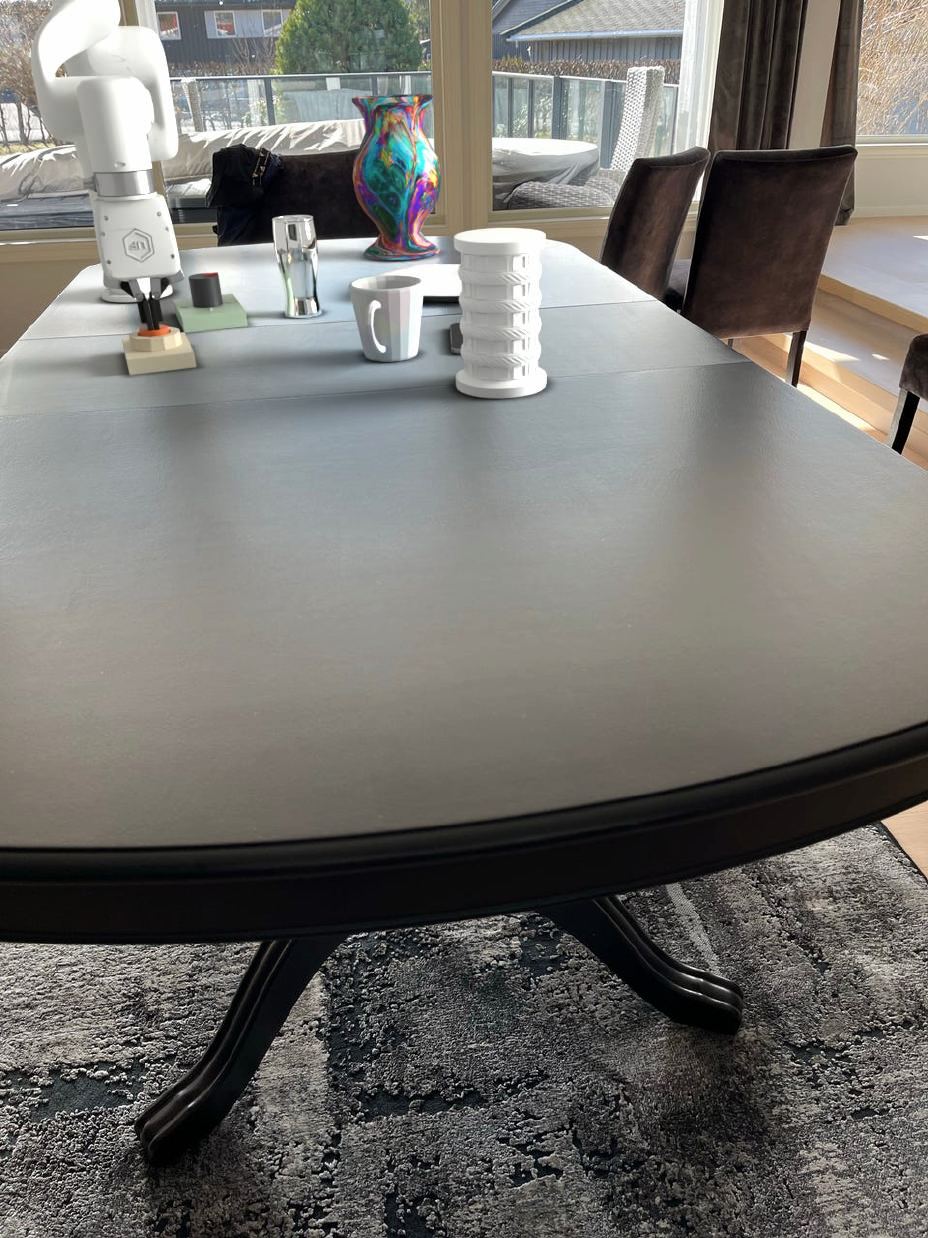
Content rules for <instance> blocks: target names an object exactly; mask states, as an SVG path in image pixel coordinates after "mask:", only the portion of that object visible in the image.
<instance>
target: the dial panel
mask: <svg viewBox="0 0 928 1238" xmlns="http://www.w3.org/2000/svg"><path fill="white" fill-rule="evenodd" d="M222 300H223V304H221V305H219V306H215V307H207V308H199V307H194V306H193V302H192V297H185V298H175V299H172V302H173V307H174V313H175V316H176V318H177V321H178V322H179V325H180V327H181V329H182V331H183V332H184V333H185V334H186V333H187V334H188V333H194V332H195V333H196V332H203V331H204V332H205V331H212V330H213V331H214V330H222V329H232V328H240V327H241V328H242V327H248V319H247V313H246V309H245V308H244V306H242V304H241V303H240V301H239V300H238V299H237V298H236V296H235V295H234V294H233V293H223V294H222Z"/></svg>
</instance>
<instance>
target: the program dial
mask: <svg viewBox="0 0 928 1238" xmlns="http://www.w3.org/2000/svg"><path fill="white" fill-rule="evenodd" d="M187 279H188V284H189V290H190V295H191V298H192V302H193V306H194V307H199V308H207V307H215V306H219V305H221V304H223V300H222V295H223V294H222V288H221V283H220V282H221V281H220V276H219V272H202V273H194V274H191V275H189V276H188V278H187Z"/></svg>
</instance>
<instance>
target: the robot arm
mask: <svg viewBox="0 0 928 1238" xmlns="http://www.w3.org/2000/svg"><path fill="white" fill-rule="evenodd" d="M50 2H51V6H52V8H51V10H50V11H49V12H48V13H47V15H46V16H45V17H44V18H43V20H42V21H41V23H40V25H39V27H38V28H37V31H36V32H35V35H34V37H33V41H32V44H31V48H30V70H31V75H32V80H33V85H34V90H35V95H36V102H37V107H38V109H39V113H40V117H41V120H42V122H43V124H44V127H45V129H46V130H47V132H48V133H49V134H50V135H51V136H52V137H53V138H54V139H56V140H58V141H61V142H66V143H73V146H74V148H75V151H76V154H77V158H78V161H79V163H80V166H81V169H82V172H83V173H82V174H83V175H84V176H83V177H84V178H82V183H83V188H84V191H87V193H88V196H89V201H90V207H91V210H92V216H93V226H94V233H95V238H96V244H97V250H98V256H99V260H100V261H99V262H100V266H101V269H102V272H103V274H102V282H103V283H102V284H103V287H105V289H103V290H102V291H101V293H100V295H101V298H102V300H103V301H106V302H109V303H136V304H137V309H138V314H139V319H140V323H141V325H145V324H146V326H147V328H148V331H149V330H152V329H153V326H154V329H156V330H158V329H160V327H159V324H160V323H161V322H162V323H163V322H164V316H163V312H162V306H161V301H160V299H162V298H165V297H169V296H170V295H172V294H173V291H174V290H173V286H172V285H174V284H177V283H180V282H182V281H184V279H185V275H184V273H183V271H182V268H181V261H180V254H179V249H178V244H177V239H176V235H175V231H174V225H173V222H172V219H171V214H170V212H169V211H170V210H169V208H168V205H167V202H166V199H165V197H164V195H163V194H160V193H158V192H157V185H156V182H155V175H154V170H153V165H152V162H162V161H169V160H171V159H173V158H175V157H176V156H177V153H178V151H179V134H178V126H177V119H176V111H175V106H174V99H173V93H172V87H171V80H170V74H169V67H168V62H167V57H166V53H165V49H164V45H163V43H162V41H161V39H160V37H159V35H158V34H157V33H156V32H155V31H154V30H153V29H151V28H149V27H146V26H143V25H120V21H121V8H120V4H119V0H50ZM63 64H64V66H65V71H66V73H67V76H58V77H56V73H57V71H58V70H59V68H60V67H61V66H62V65H63Z"/></svg>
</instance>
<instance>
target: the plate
mask: <svg viewBox="0 0 928 1238" xmlns="http://www.w3.org/2000/svg"><path fill="white" fill-rule="evenodd" d="M460 264H461V263H458V264H457V263H455V264H454V263H453V264H452V263H449V264H448V263H446V264H445V263H441V264H440V263H439V264H438V263H435V264H410V265H405V266H401V267H397V268H393V269H390V270H385V271H383V272H381V273H380V272H379V273H377V274H375V275H374V276H382V275H406V276H413V277H417V278H420V279H422V280H423V281H424V292H423V302H445V303H446V302H459V295H460V292H461V291H462V285H461V280H460V279H459V275H458V268H459V265H460Z"/></svg>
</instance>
